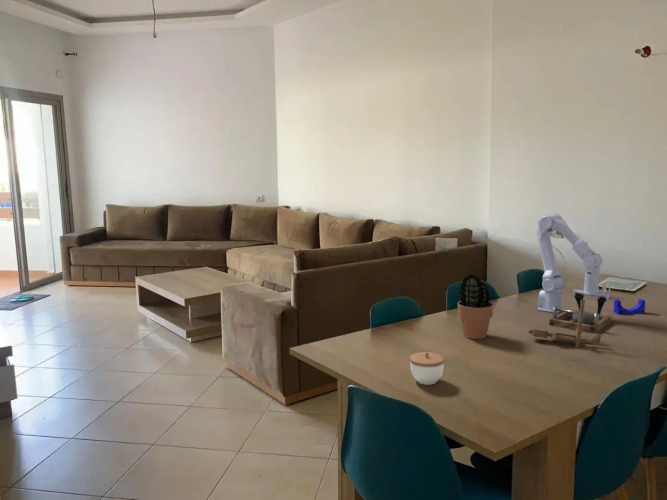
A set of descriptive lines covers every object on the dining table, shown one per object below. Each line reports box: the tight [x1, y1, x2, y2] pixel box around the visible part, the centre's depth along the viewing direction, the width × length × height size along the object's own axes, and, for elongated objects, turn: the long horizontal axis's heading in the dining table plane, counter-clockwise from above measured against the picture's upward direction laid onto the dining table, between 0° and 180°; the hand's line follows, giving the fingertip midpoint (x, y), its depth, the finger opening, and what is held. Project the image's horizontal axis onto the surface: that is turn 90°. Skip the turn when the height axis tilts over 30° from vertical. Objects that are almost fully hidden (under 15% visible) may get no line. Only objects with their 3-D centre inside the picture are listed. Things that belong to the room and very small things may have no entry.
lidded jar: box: [409, 351, 445, 386], centre depth 174 cm, size 11×11×9 cm
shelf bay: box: [548, 311, 612, 334], centre depth 232 cm, size 18×20×2 cm
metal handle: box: [552, 307, 600, 325], centre depth 227 cm, size 18×2×7 cm, turn 47°
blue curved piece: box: [613, 298, 646, 316], centre depth 246 cm, size 12×4×6 cm, turn 85°
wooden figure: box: [528, 299, 602, 349], centre depth 210 cm, size 14×18×25 cm
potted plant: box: [457, 273, 494, 340], centre depth 218 cm, size 14×14×25 cm
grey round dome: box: [571, 311, 594, 325], centre depth 235 cm, size 8×8×4 cm
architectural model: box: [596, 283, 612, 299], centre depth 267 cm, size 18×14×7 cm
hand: (589, 312), depth 241 cm, fingers open, 7 cm apart
